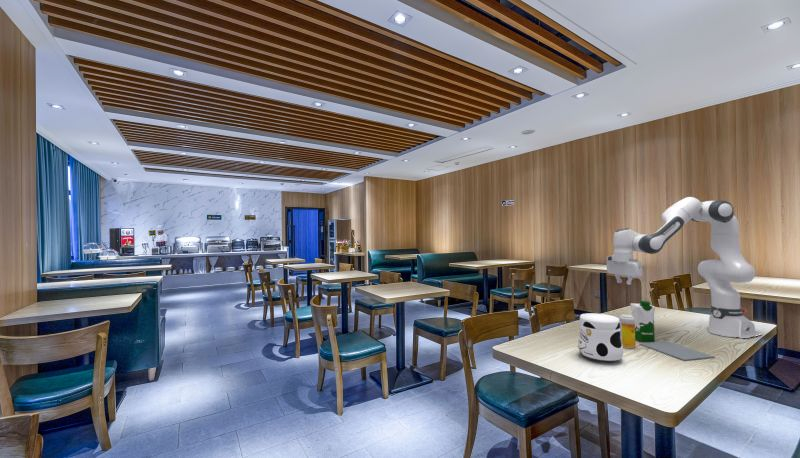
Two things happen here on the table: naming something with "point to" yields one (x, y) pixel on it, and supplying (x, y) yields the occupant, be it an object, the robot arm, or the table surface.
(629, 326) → the beer can
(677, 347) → the mat
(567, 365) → the table surface
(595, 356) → the milk container
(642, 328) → the white carton
